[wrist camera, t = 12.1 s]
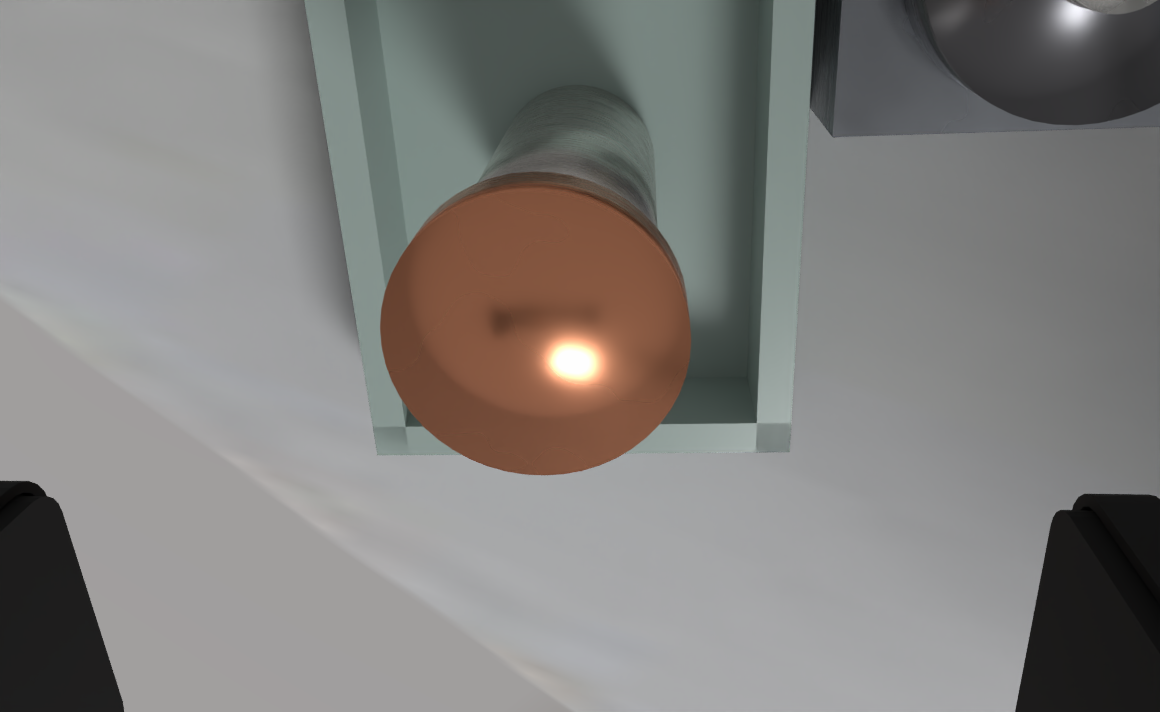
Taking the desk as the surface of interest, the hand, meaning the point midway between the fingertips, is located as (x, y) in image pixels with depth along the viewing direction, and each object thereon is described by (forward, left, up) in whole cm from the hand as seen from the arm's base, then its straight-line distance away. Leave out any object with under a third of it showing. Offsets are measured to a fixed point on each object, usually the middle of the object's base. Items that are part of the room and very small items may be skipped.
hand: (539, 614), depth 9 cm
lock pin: (0, +1, -15) cm, 15 cm away
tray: (0, +1, -16) cm, 16 cm away
